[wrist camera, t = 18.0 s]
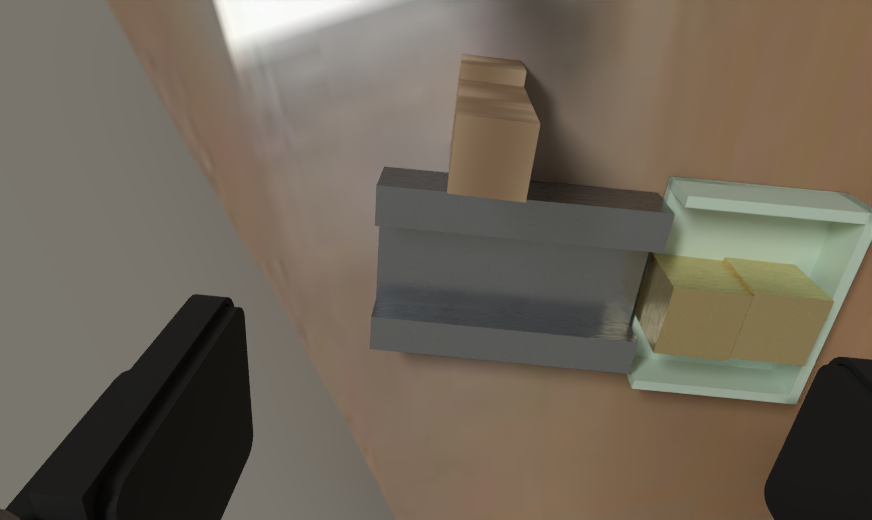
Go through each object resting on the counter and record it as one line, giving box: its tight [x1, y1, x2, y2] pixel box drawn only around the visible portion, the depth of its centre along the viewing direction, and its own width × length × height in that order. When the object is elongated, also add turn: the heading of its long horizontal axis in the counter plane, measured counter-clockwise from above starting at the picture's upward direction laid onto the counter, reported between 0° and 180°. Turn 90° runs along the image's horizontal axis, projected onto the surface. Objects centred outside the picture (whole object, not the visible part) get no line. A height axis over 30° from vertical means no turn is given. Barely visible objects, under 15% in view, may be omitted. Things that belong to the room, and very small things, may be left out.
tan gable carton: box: [447, 54, 540, 203], centre depth 26 cm, size 3×4×10 cm
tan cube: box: [635, 253, 753, 361], centre depth 32 cm, size 4×4×4 cm
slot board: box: [370, 167, 675, 374], centre depth 33 cm, size 15×10×3 cm, turn 85°
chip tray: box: [626, 176, 872, 404], centre depth 33 cm, size 10×12×3 cm
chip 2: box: [723, 257, 835, 366], centre depth 32 cm, size 4×4×4 cm
